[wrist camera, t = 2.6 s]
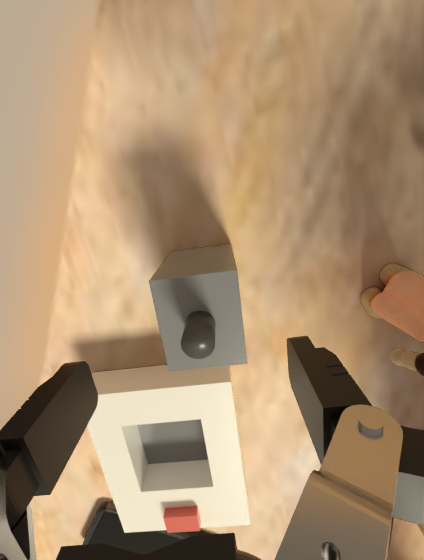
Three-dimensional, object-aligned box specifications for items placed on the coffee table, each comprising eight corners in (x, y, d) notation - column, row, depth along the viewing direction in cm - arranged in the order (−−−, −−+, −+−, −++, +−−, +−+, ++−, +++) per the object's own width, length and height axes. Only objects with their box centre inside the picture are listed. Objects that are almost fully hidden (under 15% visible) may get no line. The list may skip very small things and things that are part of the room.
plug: (230, 243, 20) (239, 283, 12) (238, 311, 22) (251, 388, 14) (171, 251, 21) (137, 295, 12) (183, 317, 22) (161, 396, 14)
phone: (202, 586, 32) (79, 550, 31) (202, 573, 34) (84, 538, 32) (231, 548, 30) (100, 506, 28) (230, 536, 31) (104, 495, 30)
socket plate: (229, 358, 23) (231, 389, 20) (247, 490, 28) (251, 535, 25) (93, 372, 24) (71, 404, 21) (133, 499, 29) (121, 543, 25)
